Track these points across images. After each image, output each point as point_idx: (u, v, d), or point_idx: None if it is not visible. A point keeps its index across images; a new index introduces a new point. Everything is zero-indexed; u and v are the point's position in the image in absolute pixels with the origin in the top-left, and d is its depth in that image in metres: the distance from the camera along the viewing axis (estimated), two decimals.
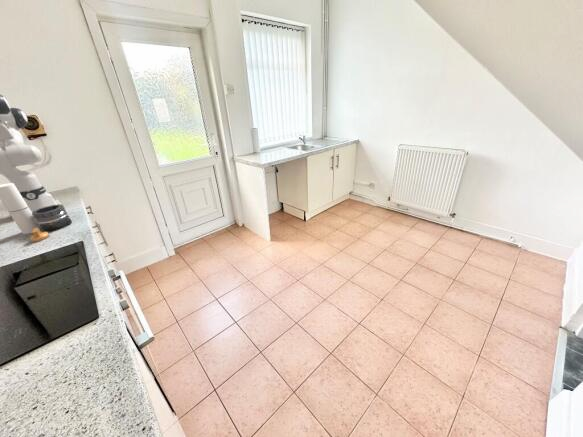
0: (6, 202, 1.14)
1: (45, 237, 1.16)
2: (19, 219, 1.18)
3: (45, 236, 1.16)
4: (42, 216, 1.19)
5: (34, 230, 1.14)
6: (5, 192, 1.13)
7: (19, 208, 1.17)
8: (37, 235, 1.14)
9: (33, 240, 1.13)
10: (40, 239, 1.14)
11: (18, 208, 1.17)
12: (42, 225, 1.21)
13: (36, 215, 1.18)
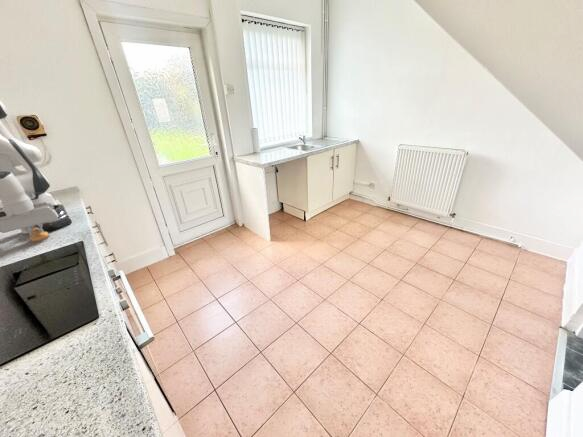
0: None
1: (45, 237, 1.16)
2: None
3: (45, 236, 1.16)
4: None
5: (34, 230, 1.14)
6: None
7: None
8: (37, 235, 1.14)
9: (33, 240, 1.13)
10: (40, 239, 1.14)
11: None
12: None
13: None
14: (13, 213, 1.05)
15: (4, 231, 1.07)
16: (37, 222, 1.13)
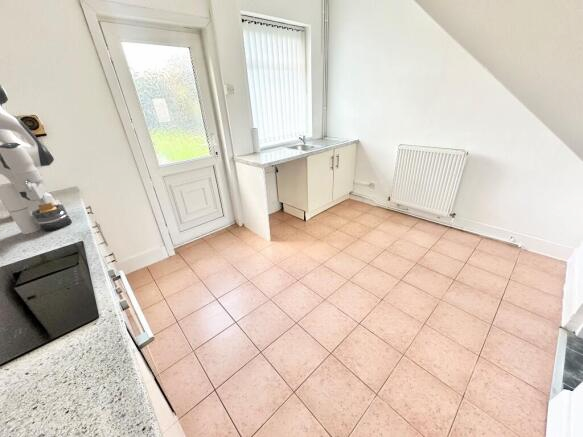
0: (6, 202, 1.14)
1: None
2: (19, 219, 1.18)
3: None
4: (42, 216, 1.19)
5: None
6: (5, 192, 1.13)
7: (19, 208, 1.17)
8: None
9: None
10: None
11: (18, 208, 1.17)
12: (42, 225, 1.21)
13: (36, 215, 1.18)
14: None
15: None
16: None
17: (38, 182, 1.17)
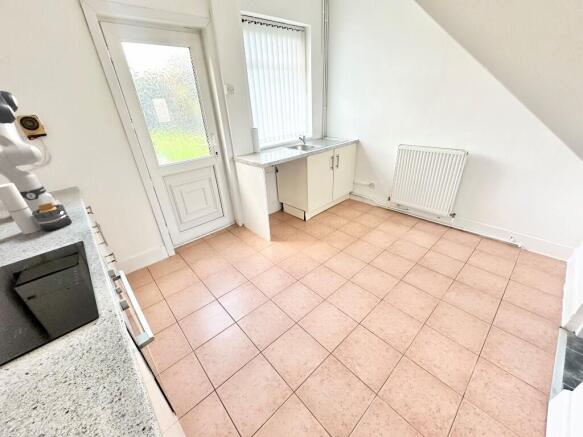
0: (6, 202, 1.14)
1: None
2: (19, 219, 1.18)
3: None
4: (42, 216, 1.19)
5: (43, 204, 1.22)
6: (5, 192, 1.13)
7: (19, 208, 1.17)
8: None
9: None
10: None
11: (18, 208, 1.17)
12: (42, 225, 1.21)
13: (36, 215, 1.18)
14: None
15: None
16: None
17: None
